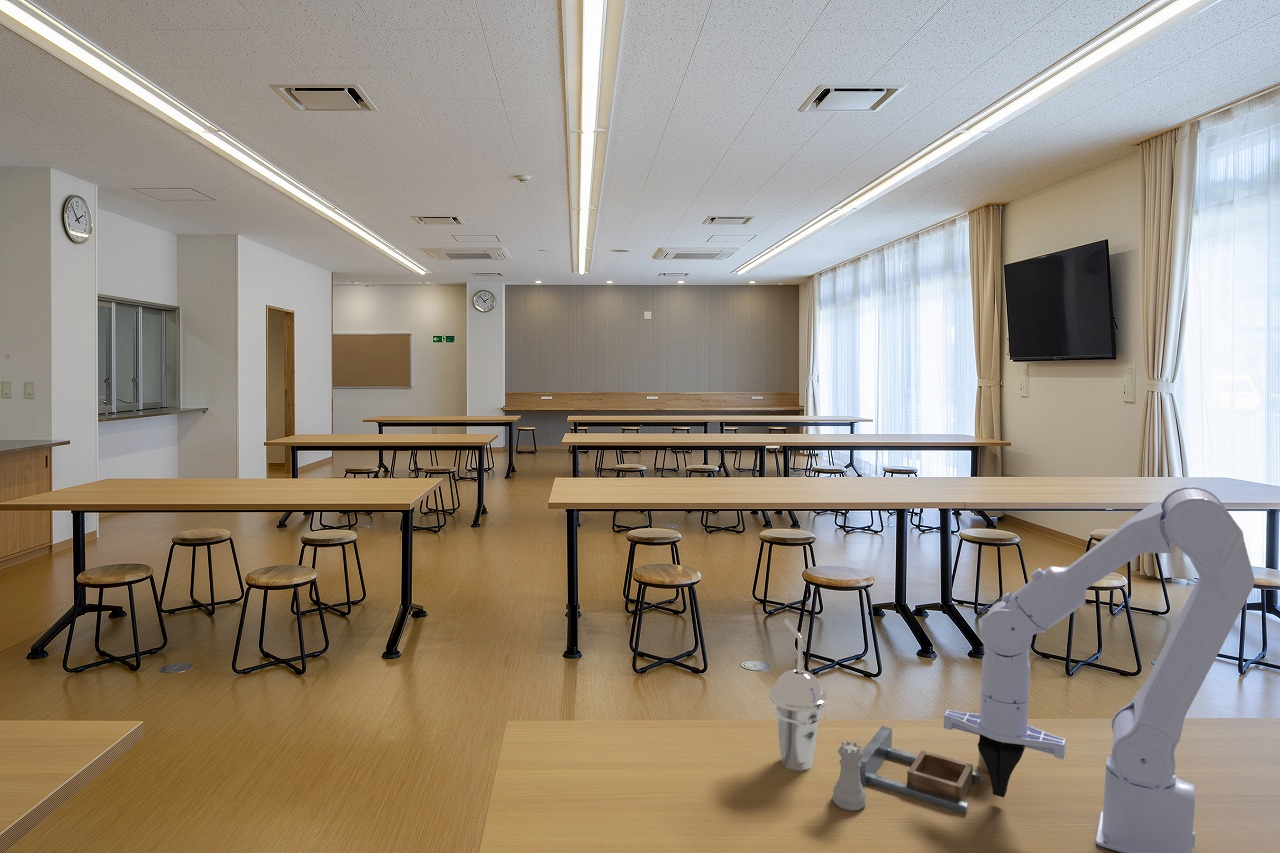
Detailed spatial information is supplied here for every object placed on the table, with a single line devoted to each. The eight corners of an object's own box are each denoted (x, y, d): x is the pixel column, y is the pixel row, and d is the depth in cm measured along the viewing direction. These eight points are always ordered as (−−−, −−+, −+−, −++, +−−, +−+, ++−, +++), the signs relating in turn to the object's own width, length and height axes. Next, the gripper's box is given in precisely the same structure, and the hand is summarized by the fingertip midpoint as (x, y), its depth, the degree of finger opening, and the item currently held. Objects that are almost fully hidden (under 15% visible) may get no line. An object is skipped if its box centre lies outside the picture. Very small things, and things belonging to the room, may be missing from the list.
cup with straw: (765, 773, 113) (767, 637, 111) (770, 743, 121) (772, 616, 119) (826, 781, 111) (829, 643, 109) (826, 749, 119) (830, 621, 117)
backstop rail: (983, 777, 112) (984, 753, 112) (964, 818, 102) (965, 792, 102) (881, 747, 120) (882, 725, 120) (854, 783, 110) (855, 759, 110)
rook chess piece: (867, 814, 103) (869, 756, 102) (832, 810, 104) (834, 752, 103) (865, 795, 107) (867, 739, 106) (831, 791, 108) (833, 735, 107)
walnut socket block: (972, 782, 110) (972, 764, 110) (960, 806, 105) (961, 787, 104) (920, 767, 114) (921, 750, 114) (906, 789, 109) (907, 771, 108)
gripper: (1070, 697, 103) (1064, 796, 104) (954, 671, 111) (950, 763, 112) (1064, 717, 97) (1058, 822, 98) (941, 689, 105) (937, 785, 107)
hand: (999, 792), depth 105 cm, fingers closed
